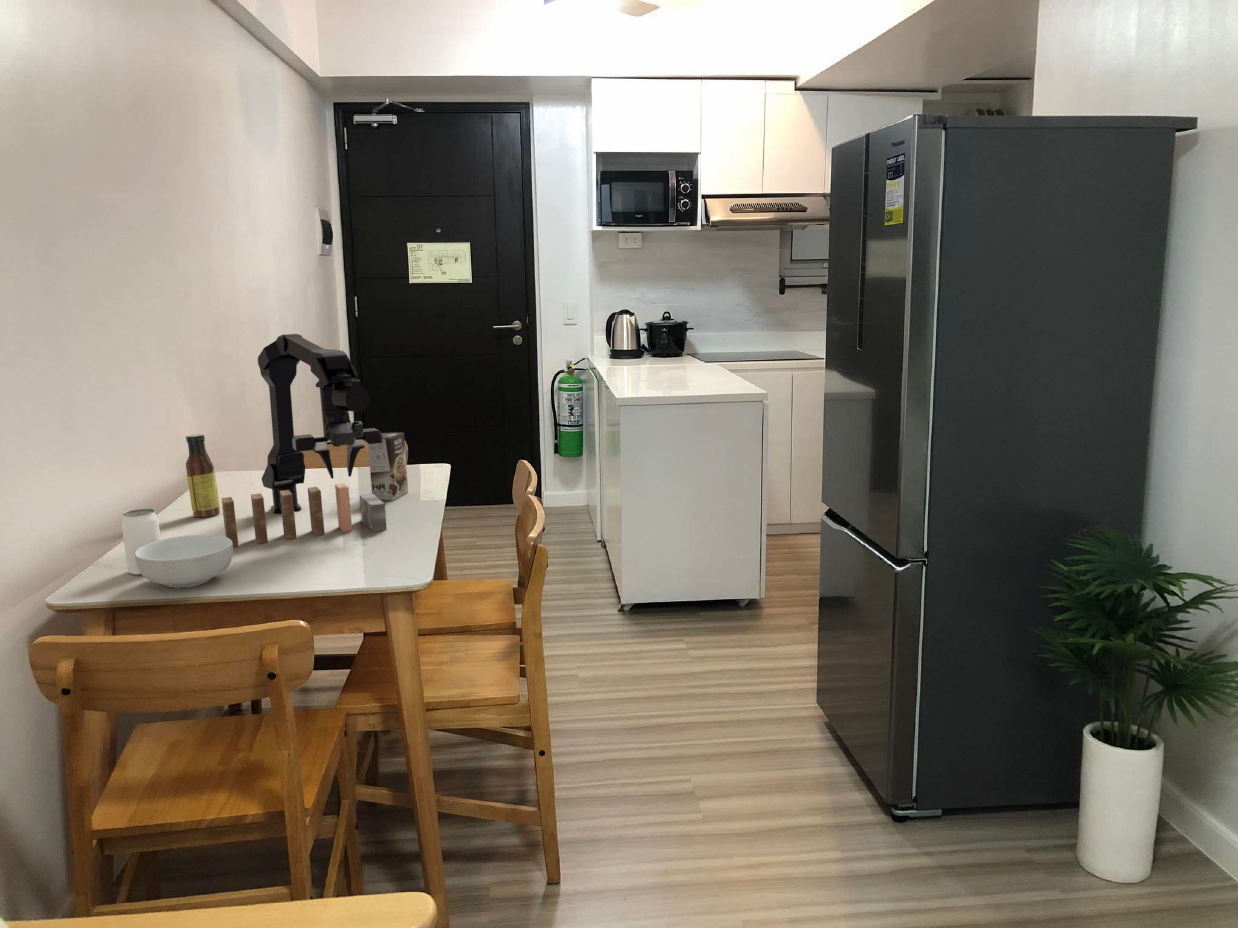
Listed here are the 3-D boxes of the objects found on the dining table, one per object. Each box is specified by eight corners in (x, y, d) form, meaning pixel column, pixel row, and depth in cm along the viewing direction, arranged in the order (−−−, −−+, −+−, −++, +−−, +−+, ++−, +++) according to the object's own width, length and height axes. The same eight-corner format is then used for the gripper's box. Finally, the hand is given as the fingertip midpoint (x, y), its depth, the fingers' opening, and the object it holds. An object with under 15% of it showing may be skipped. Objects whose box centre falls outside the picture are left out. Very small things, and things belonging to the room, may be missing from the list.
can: (136, 566, 193) (128, 508, 191) (169, 565, 194) (162, 507, 192) (122, 576, 187) (114, 517, 185) (156, 574, 188) (149, 515, 185)
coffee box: (394, 500, 244) (390, 438, 241) (371, 500, 246) (366, 437, 242) (409, 492, 253) (405, 431, 250) (386, 491, 254) (382, 431, 251)
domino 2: (258, 544, 208) (253, 499, 206) (255, 538, 212) (250, 494, 210) (268, 542, 209) (263, 497, 207) (265, 537, 213) (260, 493, 211)
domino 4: (315, 535, 213) (311, 491, 211) (311, 530, 217) (307, 487, 215) (324, 534, 214) (320, 490, 212) (320, 529, 218) (316, 486, 216)
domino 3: (287, 539, 210) (282, 495, 208) (283, 534, 215) (279, 491, 213) (296, 538, 211) (292, 494, 209) (293, 533, 216) (288, 489, 214)
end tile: (343, 532, 215) (339, 488, 213) (338, 527, 220) (334, 484, 218) (352, 530, 216) (348, 487, 214) (347, 525, 221) (343, 483, 219)
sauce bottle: (226, 512, 236) (217, 433, 232) (207, 519, 230) (198, 437, 226) (204, 511, 238) (195, 432, 234) (186, 517, 233) (176, 436, 229)
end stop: (361, 519, 226) (359, 495, 224) (374, 518, 227) (372, 493, 226) (373, 531, 215) (371, 505, 214) (386, 529, 216) (384, 503, 215)
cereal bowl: (136, 601, 172) (131, 564, 171) (141, 576, 187) (136, 541, 186) (237, 587, 179) (233, 550, 178) (234, 563, 194) (230, 529, 192)
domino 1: (228, 548, 205) (223, 502, 203) (226, 542, 209) (221, 498, 207) (238, 546, 206) (233, 501, 204) (236, 541, 210) (231, 496, 208)
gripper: (296, 416, 202) (303, 489, 205) (385, 408, 210) (391, 478, 213) (288, 410, 211) (295, 479, 214) (374, 403, 219) (379, 470, 223)
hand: (340, 477), depth 216 cm, fingers open, 3 cm apart
